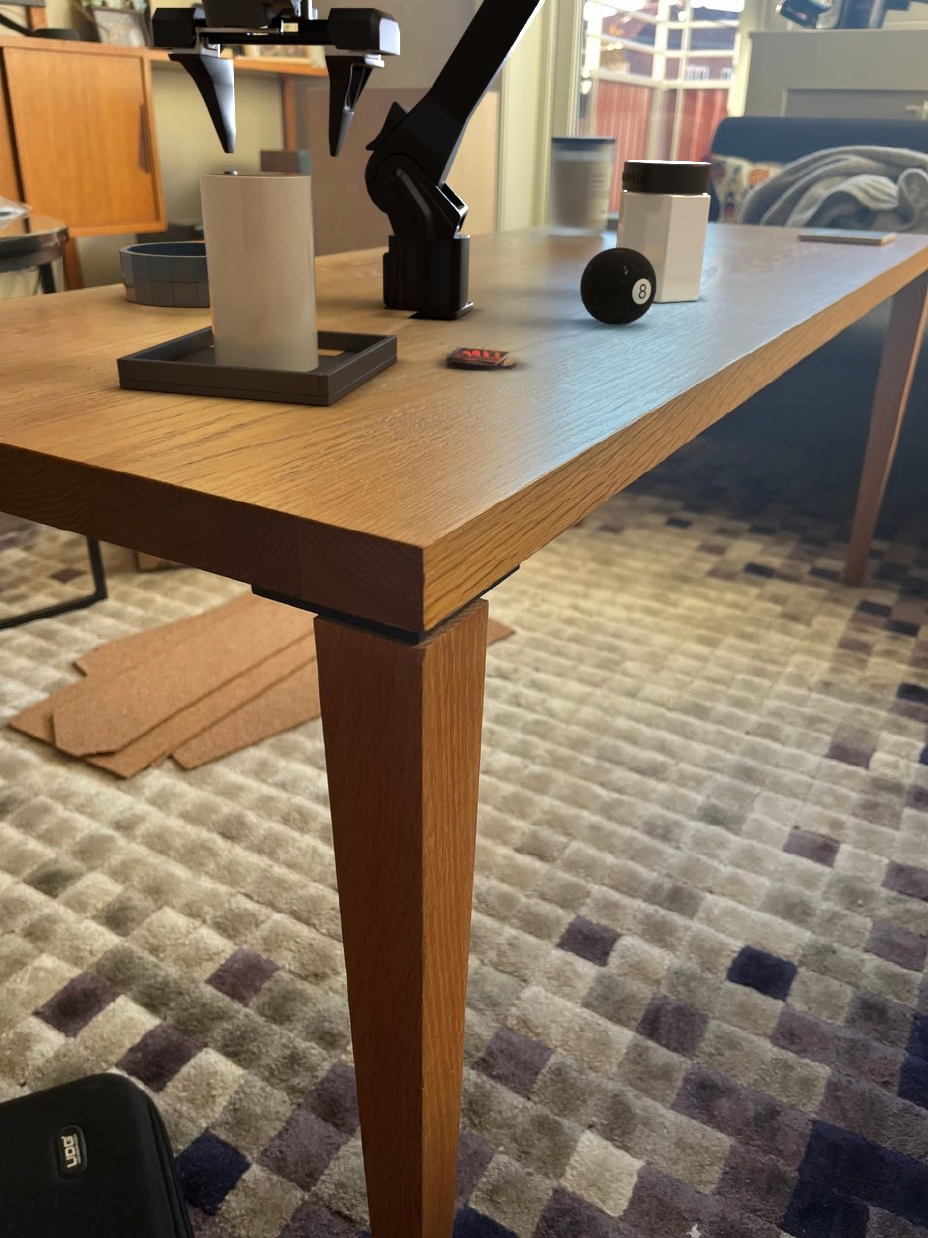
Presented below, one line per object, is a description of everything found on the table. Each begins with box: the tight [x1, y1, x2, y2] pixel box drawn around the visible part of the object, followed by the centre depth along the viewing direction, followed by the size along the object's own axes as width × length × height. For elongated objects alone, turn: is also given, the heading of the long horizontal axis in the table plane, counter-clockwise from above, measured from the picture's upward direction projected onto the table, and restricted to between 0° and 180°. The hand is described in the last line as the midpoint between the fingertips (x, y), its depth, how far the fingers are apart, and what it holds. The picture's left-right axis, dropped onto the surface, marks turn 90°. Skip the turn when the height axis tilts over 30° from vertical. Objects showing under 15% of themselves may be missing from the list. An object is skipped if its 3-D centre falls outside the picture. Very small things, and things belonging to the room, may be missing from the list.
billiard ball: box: [579, 247, 657, 326], centre depth 81 cm, size 6×6×6 cm
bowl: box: [118, 241, 210, 308], centre depth 86 cm, size 12×12×4 cm
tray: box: [116, 325, 398, 407], centre depth 63 cm, size 13×13×2 cm
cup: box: [198, 170, 320, 372], centre depth 60 cm, size 6×6×11 cm
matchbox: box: [446, 346, 518, 368], centre depth 68 cm, size 5×5×1 cm
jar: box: [615, 160, 713, 304], centre depth 96 cm, size 9×8×12 cm
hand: (281, 154), depth 81 cm, fingers open, 9 cm apart
